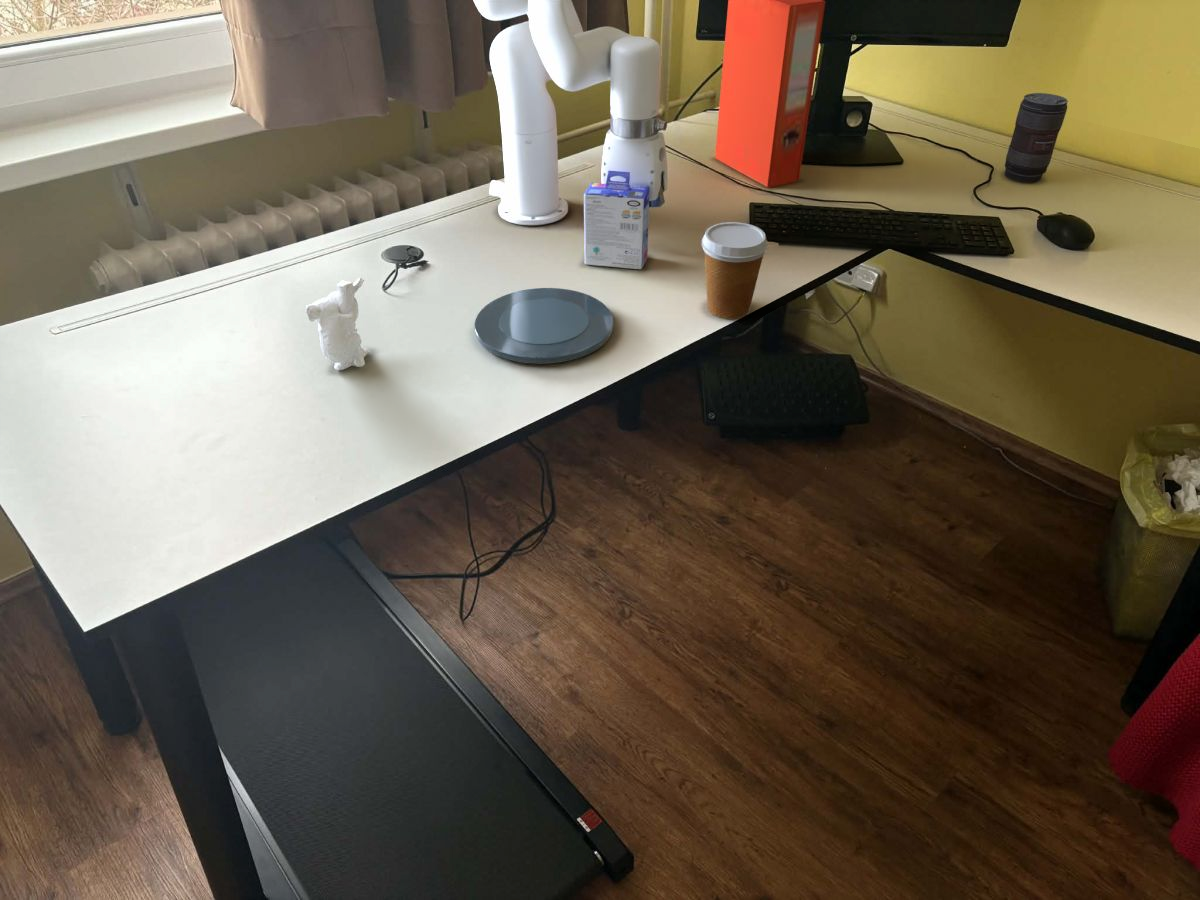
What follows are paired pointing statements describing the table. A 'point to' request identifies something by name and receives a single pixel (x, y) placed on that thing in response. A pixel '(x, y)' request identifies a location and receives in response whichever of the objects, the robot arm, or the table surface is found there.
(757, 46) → the file binder
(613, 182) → the ink cartridge box
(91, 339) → the table surface
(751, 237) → the disposable coffee cup
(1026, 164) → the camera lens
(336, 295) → the white upright lumpy figure
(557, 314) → the plate
